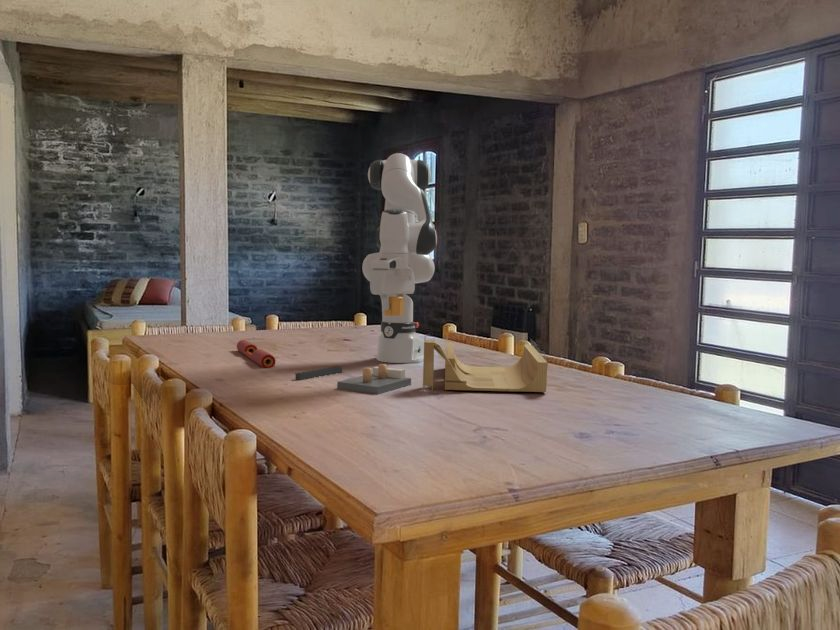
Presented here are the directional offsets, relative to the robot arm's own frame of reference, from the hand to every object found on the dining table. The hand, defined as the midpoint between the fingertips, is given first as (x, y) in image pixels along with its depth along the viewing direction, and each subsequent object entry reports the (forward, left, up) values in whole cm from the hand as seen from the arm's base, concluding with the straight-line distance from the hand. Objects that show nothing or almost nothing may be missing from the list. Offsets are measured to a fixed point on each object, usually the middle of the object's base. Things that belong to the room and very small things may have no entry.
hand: (393, 309), depth 223 cm
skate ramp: (-20, +20, -23) cm, 37 cm away
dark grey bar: (+2, -20, -21) cm, 29 cm away
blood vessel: (-10, -65, -23) cm, 69 cm away
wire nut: (0, 0, -2) cm, 2 cm away
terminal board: (+9, -1, -22) cm, 24 cm away
